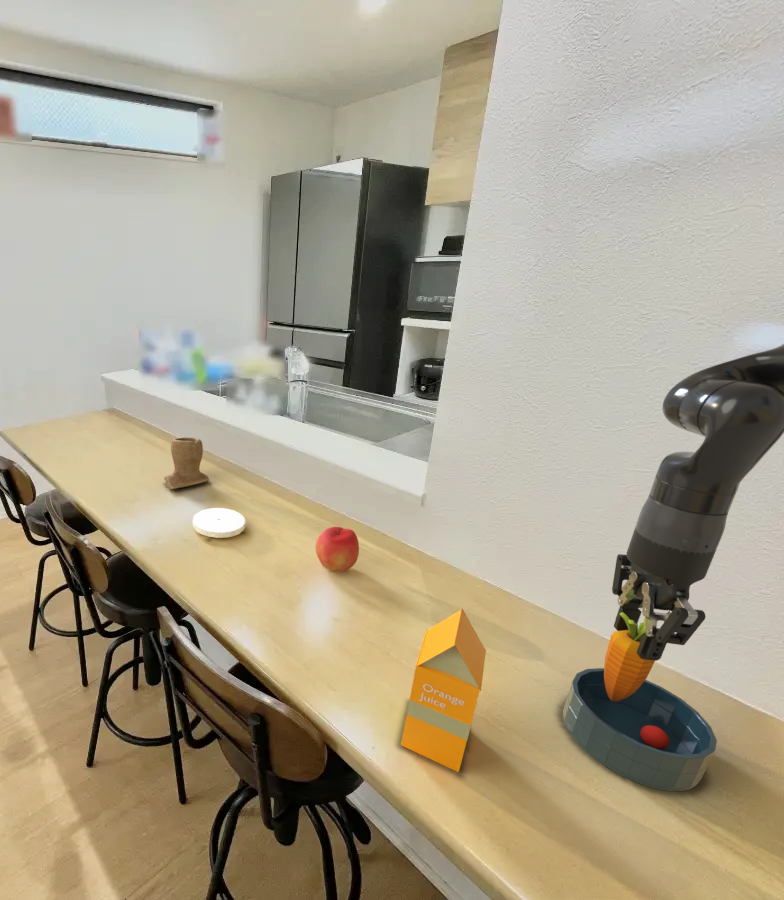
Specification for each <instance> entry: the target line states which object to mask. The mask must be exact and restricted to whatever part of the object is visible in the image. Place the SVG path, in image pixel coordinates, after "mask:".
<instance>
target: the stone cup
mask: <svg viewBox="0 0 784 900" xmlns="http://www.w3.org/2000/svg"><path fill="white" fill-rule="evenodd" d="M170 452H171V458H172V461H173V466H174V471H173V473H171V474H168V475H165V476H163V477H164V478H163V480H164V481H165V484H166V486H167V487H168V489H169V490H174V489H175V490H176V489H179V488H180V489H181V488H186V487H190V486H191V487H192V486H195V485H198V484H202V483H206V482H208V481H210V477H209V476H208V475H207V474H205V473H203V472H201V470H200V466H201V462H202V459H203V455H204V447H203V442H202V440H201V439H200V438H198V437H190V436H189V437H188V436H187V437H185V436H184V437H177V438H173V439H172V441H171V445H170Z"/></svg>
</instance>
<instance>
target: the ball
mask: <svg viewBox="0 0 784 900" xmlns="http://www.w3.org/2000/svg"><path fill="white" fill-rule="evenodd" d="M640 736H641V738H642V740H643V742H644V743H645V744H646V745H648V746H650V747H652V748H655V749H658V750H662V749H665V748H667V747H668V745H669V738H668V736H667V734H666V733H665V732H664V731H663V730H662V729H660V728H658V727H656V726H652V725H647V726H644V727H643V728H642V729H641V731H640Z"/></svg>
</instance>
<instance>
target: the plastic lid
mask: <svg viewBox="0 0 784 900" xmlns="http://www.w3.org/2000/svg"><path fill="white" fill-rule="evenodd" d="M192 528H193V530H195V531H196V532H197V533H199V534H201V535H202V536H205V537H210V538H217V539H219V538H220V539H223V538H224V539H225V538H231V537H235V536H238V535H239V534H241V533H243V531H244V530H245V528H246V518H245V517H244V515H243V514H242V513H240V512H238V511H236V510H233V509H231V508H230V509H229V508H225V507H211V508H206V509H202V510H199V511H198V512H196V513H195V514H194V515H193V516H192Z"/></svg>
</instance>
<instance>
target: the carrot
mask: <svg viewBox="0 0 784 900" xmlns="http://www.w3.org/2000/svg"><path fill="white" fill-rule="evenodd" d="M619 615H620V616H621V617H622V618H623V619H624V621H625V622H626V624H627V626H628V629H629V630H622V631H617V630H615V631H613V632H612V633H611V635H610V639H609V641H608V645H607V648H606V652H605V655H604V656H605V657H604V667H603V668H604V681H605V687H606V691H607V694H608V697H609V699H610V700H611V701H613V702H618V701H621V700H623V699H625V698H627V697H629V696H630V695H632V694H633V693H635V692H636V690H637V689H638V688H639V687H640V686H641V685H642V683H643V682H644V681H645V680H647V678H648V676H649V674H650V672H651V670H652V668H653V666H654V664H655V662H656V661H653V660H646V659H641V658H640V657H639V656H638V654H637V650H638V647H639V644H640V642H641V639H642V637H643V634H644V632H645V629H646V617H645V616H644V619H643V622H640V624H638V623H635V622H634V621H633V620H630V619H629V618H628V617H627V615H626V614H624V613H623V612H622V613H620V614H619Z"/></svg>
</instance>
